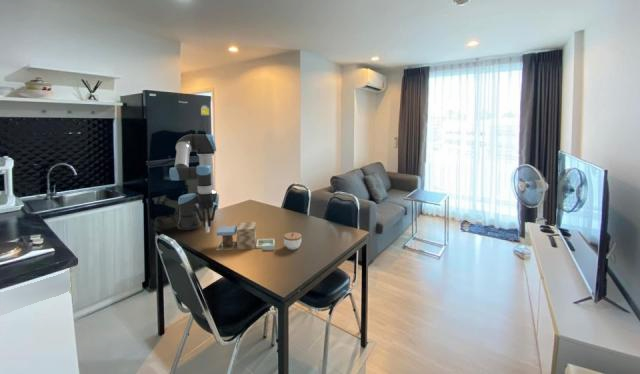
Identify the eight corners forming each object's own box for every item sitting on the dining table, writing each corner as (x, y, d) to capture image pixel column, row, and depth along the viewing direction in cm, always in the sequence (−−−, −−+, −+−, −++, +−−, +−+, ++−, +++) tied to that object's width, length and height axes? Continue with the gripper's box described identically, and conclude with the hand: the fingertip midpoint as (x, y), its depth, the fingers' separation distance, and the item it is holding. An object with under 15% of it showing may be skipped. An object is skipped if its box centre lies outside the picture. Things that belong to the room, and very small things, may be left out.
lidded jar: (291, 242, 188) (291, 228, 186) (305, 246, 182) (305, 232, 180) (279, 248, 179) (279, 233, 177) (293, 252, 173) (293, 237, 171)
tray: (256, 250, 175) (256, 246, 175) (257, 243, 186) (257, 239, 185) (274, 249, 177) (274, 245, 177) (274, 242, 187) (274, 238, 187)
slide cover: (216, 235, 171) (216, 232, 170) (219, 229, 180) (219, 226, 180) (235, 235, 172) (234, 231, 172) (237, 229, 182) (236, 226, 182)
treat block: (222, 247, 175) (222, 236, 174) (224, 244, 180) (223, 233, 179) (231, 247, 176) (231, 235, 175) (232, 243, 181) (232, 232, 180)
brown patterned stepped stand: (215, 252, 172) (214, 230, 169) (219, 244, 183) (218, 223, 181) (255, 250, 175) (254, 228, 172) (256, 242, 187) (255, 222, 184)
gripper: (191, 194, 165) (194, 234, 170) (215, 193, 167) (218, 234, 172) (194, 191, 172) (197, 230, 177) (218, 190, 174) (220, 229, 179)
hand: (207, 232), depth 175 cm, fingers closed
